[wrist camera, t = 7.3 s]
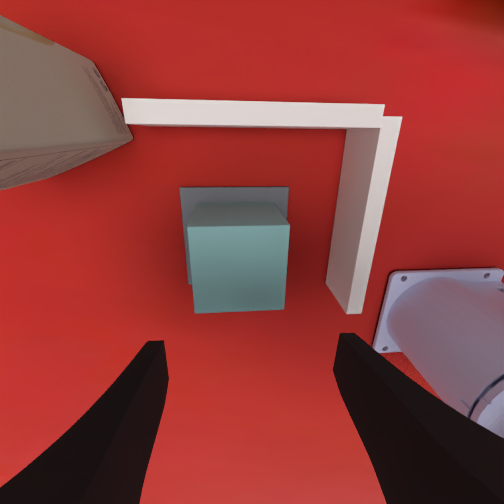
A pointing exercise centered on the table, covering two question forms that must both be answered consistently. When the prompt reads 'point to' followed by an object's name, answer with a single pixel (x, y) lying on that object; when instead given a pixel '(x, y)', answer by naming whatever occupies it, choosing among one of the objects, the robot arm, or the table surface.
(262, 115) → the light grey piece
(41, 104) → the skincare box
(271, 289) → the teal block
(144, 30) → the table surface
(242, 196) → the mat
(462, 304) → the robot arm
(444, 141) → the table surface
